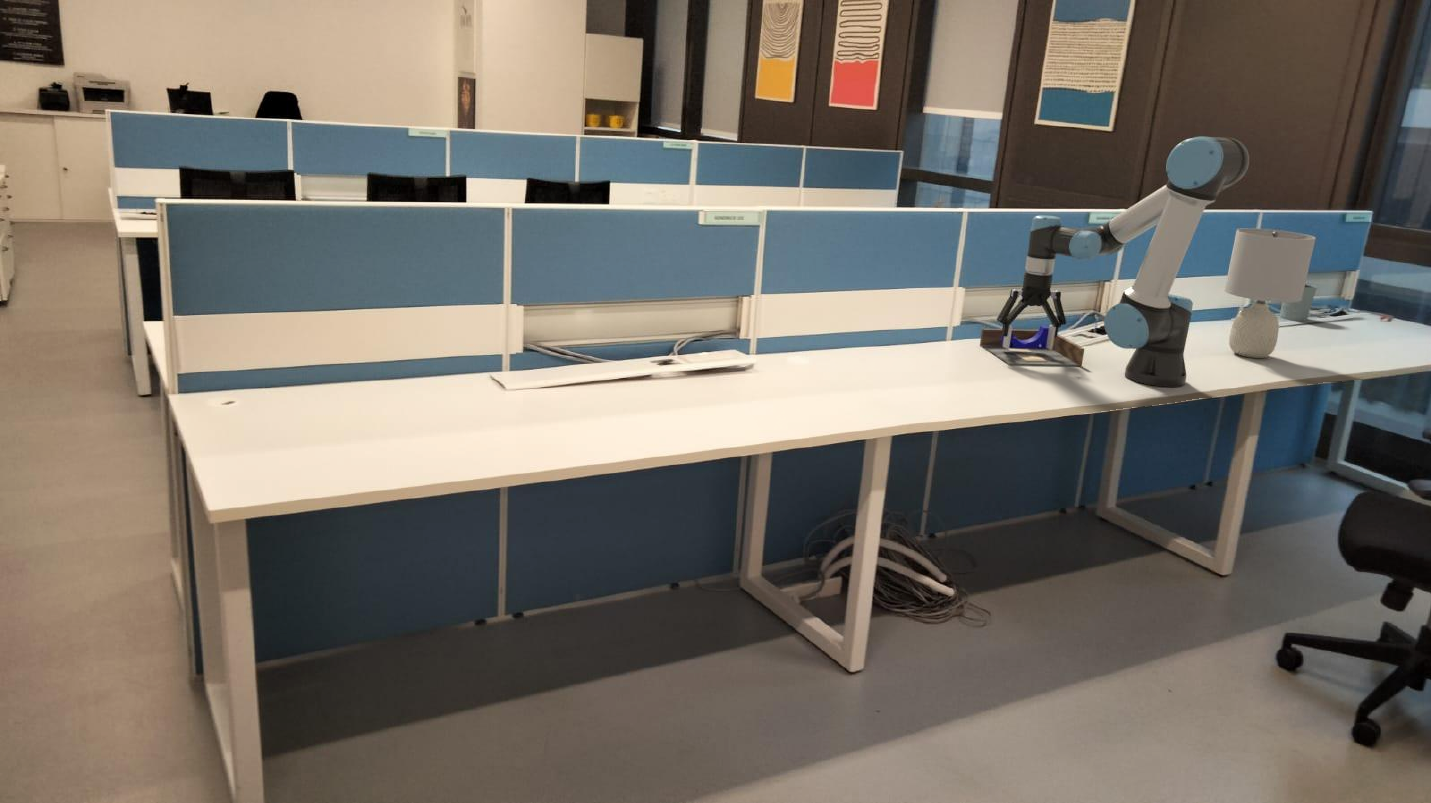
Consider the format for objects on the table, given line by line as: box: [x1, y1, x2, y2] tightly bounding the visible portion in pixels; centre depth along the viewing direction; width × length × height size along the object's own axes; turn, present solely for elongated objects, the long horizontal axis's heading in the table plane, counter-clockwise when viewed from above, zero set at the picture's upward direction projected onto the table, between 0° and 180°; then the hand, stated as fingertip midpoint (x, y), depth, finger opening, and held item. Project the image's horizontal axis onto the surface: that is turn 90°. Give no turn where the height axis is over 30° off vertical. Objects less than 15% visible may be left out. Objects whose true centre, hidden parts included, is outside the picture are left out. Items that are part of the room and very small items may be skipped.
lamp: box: [1224, 227, 1316, 359], centre depth 305 cm, size 20×20×37 cm
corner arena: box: [979, 328, 1085, 367], centre depth 296 cm, size 21×21×5 cm
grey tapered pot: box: [1279, 283, 1318, 322], centre depth 365 cm, size 10×10×12 cm
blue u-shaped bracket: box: [1001, 325, 1049, 349], centre depth 295 cm, size 12×4×6 cm, turn 91°
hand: (1027, 348), depth 294 cm, fingers closed on blue u-shaped bracket, 12 cm apart
